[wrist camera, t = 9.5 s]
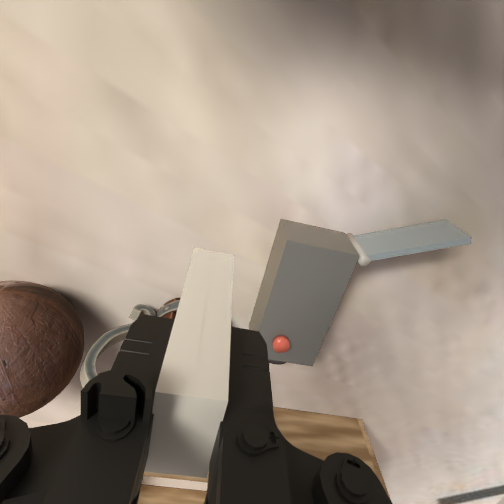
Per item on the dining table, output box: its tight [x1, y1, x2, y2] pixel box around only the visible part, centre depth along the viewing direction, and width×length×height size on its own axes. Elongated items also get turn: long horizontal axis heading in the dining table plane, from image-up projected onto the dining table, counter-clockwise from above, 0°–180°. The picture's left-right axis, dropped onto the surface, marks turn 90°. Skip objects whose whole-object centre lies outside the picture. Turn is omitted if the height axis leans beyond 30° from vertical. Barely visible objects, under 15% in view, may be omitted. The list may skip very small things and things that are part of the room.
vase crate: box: [138, 407, 390, 504], centre depth 54 cm, size 26×40×12 cm, turn 76°
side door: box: [346, 220, 472, 266], centre depth 39 cm, size 12×1×6 cm, turn 100°
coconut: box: [0, 281, 84, 418], centre depth 38 cm, size 15×15×15 cm
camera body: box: [249, 219, 360, 366], centre depth 42 cm, size 17×8×7 cm, turn 166°
